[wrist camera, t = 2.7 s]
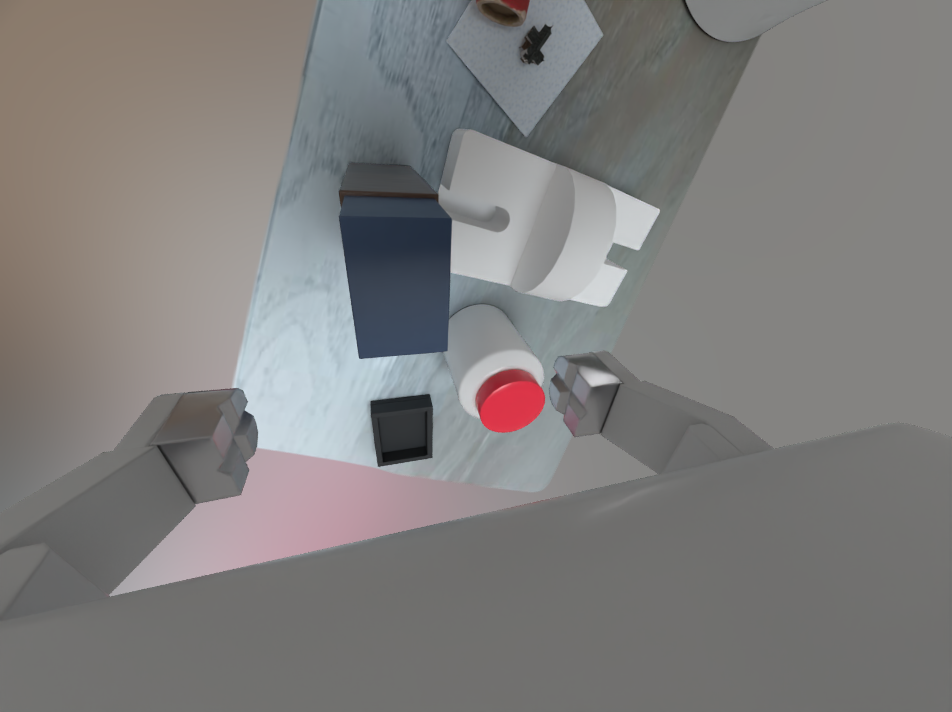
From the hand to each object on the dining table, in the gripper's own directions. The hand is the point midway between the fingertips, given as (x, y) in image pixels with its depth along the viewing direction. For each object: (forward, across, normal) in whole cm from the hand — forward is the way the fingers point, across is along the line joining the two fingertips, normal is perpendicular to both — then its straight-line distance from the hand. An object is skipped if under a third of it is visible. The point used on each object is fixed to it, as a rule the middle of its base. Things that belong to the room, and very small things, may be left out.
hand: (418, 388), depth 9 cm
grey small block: (+22, -10, -12) cm, 27 cm away
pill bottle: (+22, -9, +12) cm, 27 cm away
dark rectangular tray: (+22, -1, +23) cm, 32 cm away
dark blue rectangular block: (+10, 0, 0) cm, 10 cm away
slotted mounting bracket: (+22, -13, +1) cm, 26 cm away
